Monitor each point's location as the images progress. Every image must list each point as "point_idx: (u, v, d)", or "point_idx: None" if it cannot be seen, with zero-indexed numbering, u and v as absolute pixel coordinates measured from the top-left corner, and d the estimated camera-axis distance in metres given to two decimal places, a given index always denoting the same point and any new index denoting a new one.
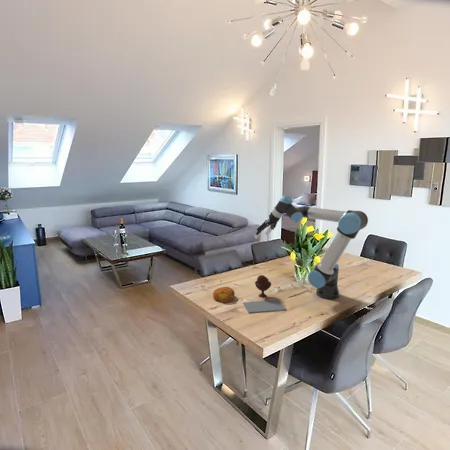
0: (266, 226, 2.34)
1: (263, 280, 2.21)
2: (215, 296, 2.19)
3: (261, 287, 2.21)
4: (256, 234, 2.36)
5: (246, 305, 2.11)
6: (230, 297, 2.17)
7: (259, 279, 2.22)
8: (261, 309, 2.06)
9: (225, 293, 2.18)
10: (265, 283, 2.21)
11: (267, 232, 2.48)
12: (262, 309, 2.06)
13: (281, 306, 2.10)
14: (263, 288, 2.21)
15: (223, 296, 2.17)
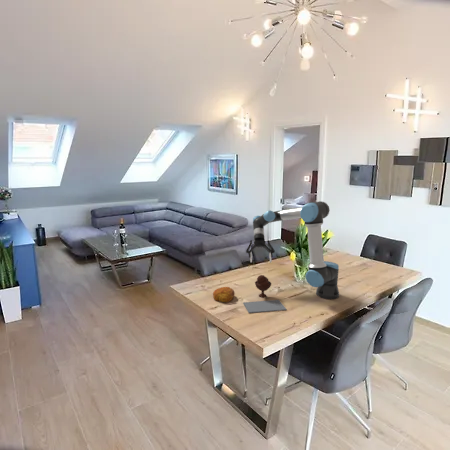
0: None
1: (263, 280, 2.21)
2: (215, 296, 2.19)
3: (261, 287, 2.21)
4: (249, 257, 2.35)
5: (246, 305, 2.11)
6: (230, 297, 2.17)
7: (259, 279, 2.22)
8: (261, 309, 2.06)
9: (225, 293, 2.18)
10: (265, 283, 2.21)
11: None
12: (262, 309, 2.06)
13: (281, 306, 2.10)
14: (263, 288, 2.21)
15: (223, 296, 2.16)
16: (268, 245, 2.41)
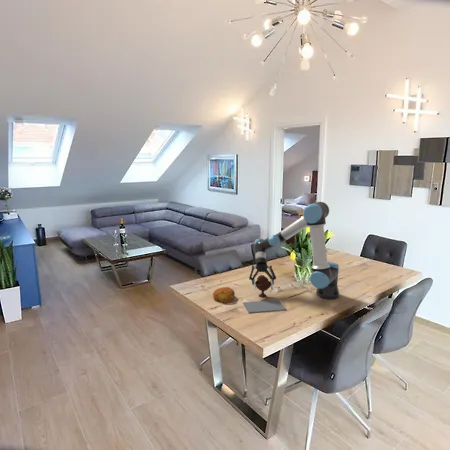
0: (256, 271, 2.29)
1: (263, 280, 2.21)
2: (215, 296, 2.19)
3: (261, 287, 2.21)
4: (252, 284, 2.25)
5: (246, 305, 2.11)
6: (230, 297, 2.17)
7: (259, 279, 2.22)
8: (261, 309, 2.06)
9: (225, 293, 2.17)
10: (265, 283, 2.21)
11: (271, 285, 2.25)
12: (262, 309, 2.06)
13: (281, 306, 2.10)
14: (263, 288, 2.21)
15: (223, 296, 2.16)
16: (270, 270, 2.31)
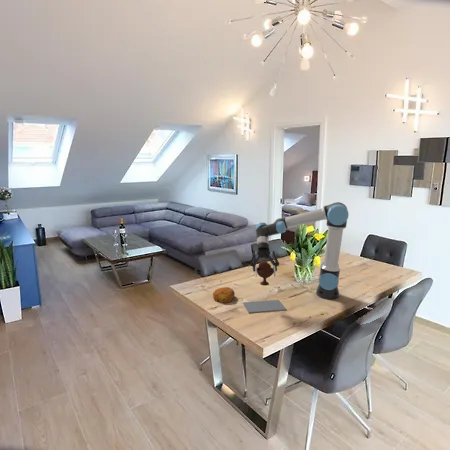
0: None
1: (265, 266, 2.03)
2: (215, 296, 2.19)
3: (263, 274, 2.03)
4: (253, 270, 2.07)
5: (246, 305, 2.11)
6: (230, 297, 2.17)
7: (261, 265, 2.04)
8: (261, 309, 2.06)
9: (225, 293, 2.17)
10: (267, 269, 2.03)
11: (274, 272, 2.06)
12: (262, 309, 2.06)
13: (281, 306, 2.10)
14: (265, 275, 2.03)
15: (223, 296, 2.16)
16: (273, 256, 2.13)
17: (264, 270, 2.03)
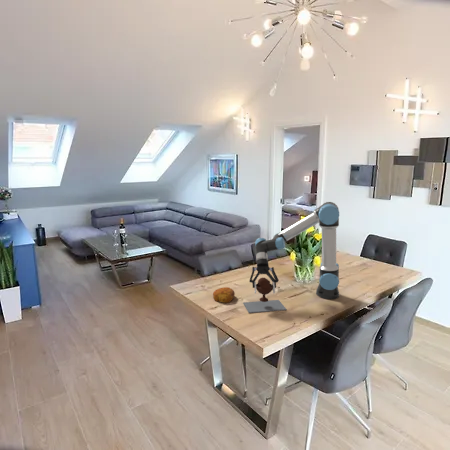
0: (257, 273, 2.12)
1: (264, 283, 2.05)
2: (215, 296, 2.19)
3: (262, 290, 2.04)
4: None
5: (246, 305, 2.11)
6: (230, 298, 2.16)
7: (260, 282, 2.05)
8: (261, 309, 2.06)
9: (225, 294, 2.17)
10: (267, 286, 2.04)
11: (273, 289, 2.08)
12: (262, 309, 2.06)
13: (281, 306, 2.10)
14: (264, 292, 2.04)
15: (223, 297, 2.16)
16: (272, 272, 2.14)
17: (263, 287, 2.04)
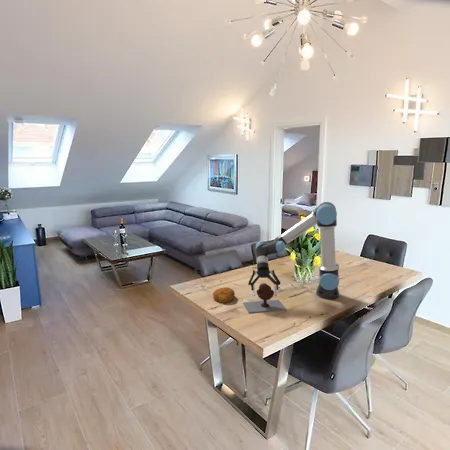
0: None
1: (265, 289, 2.05)
2: (215, 297, 2.19)
3: (263, 296, 2.05)
4: (251, 289, 2.09)
5: (246, 305, 2.11)
6: (230, 298, 2.16)
7: (261, 288, 2.06)
8: (261, 309, 2.06)
9: (225, 294, 2.17)
10: (268, 292, 2.05)
11: (275, 291, 2.09)
12: (262, 309, 2.06)
13: (281, 306, 2.10)
14: (265, 297, 2.05)
15: (223, 297, 2.16)
16: (273, 275, 2.15)
17: (264, 293, 2.05)
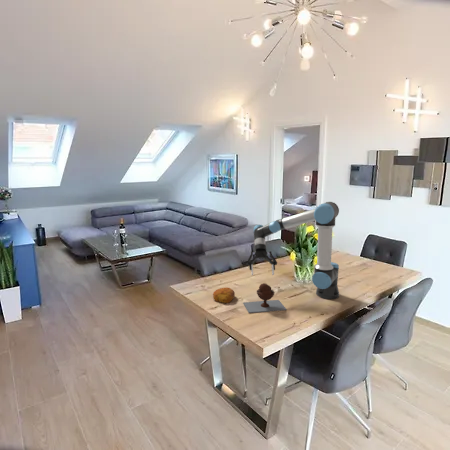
0: None
1: (265, 289, 2.05)
2: (215, 297, 2.18)
3: (263, 296, 2.05)
4: None
5: (246, 305, 2.11)
6: (230, 298, 2.16)
7: (261, 288, 2.06)
8: (261, 309, 2.06)
9: (225, 294, 2.17)
10: (268, 292, 2.05)
11: (272, 271, 2.19)
12: (262, 309, 2.06)
13: (281, 306, 2.10)
14: (265, 297, 2.05)
15: (223, 297, 2.15)
16: (270, 256, 2.25)
17: (264, 293, 2.05)
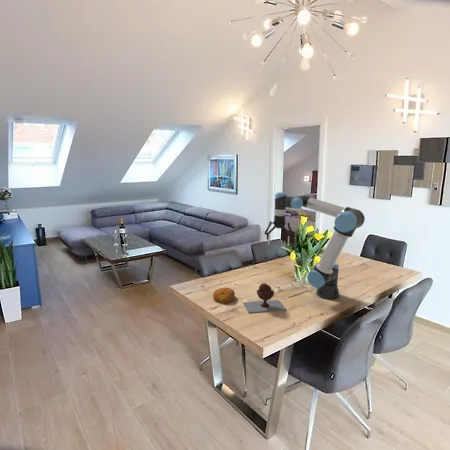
0: (272, 228, 2.34)
1: (265, 289, 2.05)
2: (215, 297, 2.18)
3: (263, 296, 2.05)
4: None
5: (246, 305, 2.11)
6: (230, 298, 2.16)
7: (261, 288, 2.06)
8: (261, 309, 2.06)
9: (225, 294, 2.16)
10: (268, 292, 2.05)
11: None
12: (262, 309, 2.06)
13: (281, 306, 2.10)
14: (265, 297, 2.05)
15: (223, 297, 2.15)
16: (288, 227, 2.32)
17: (264, 293, 2.05)
